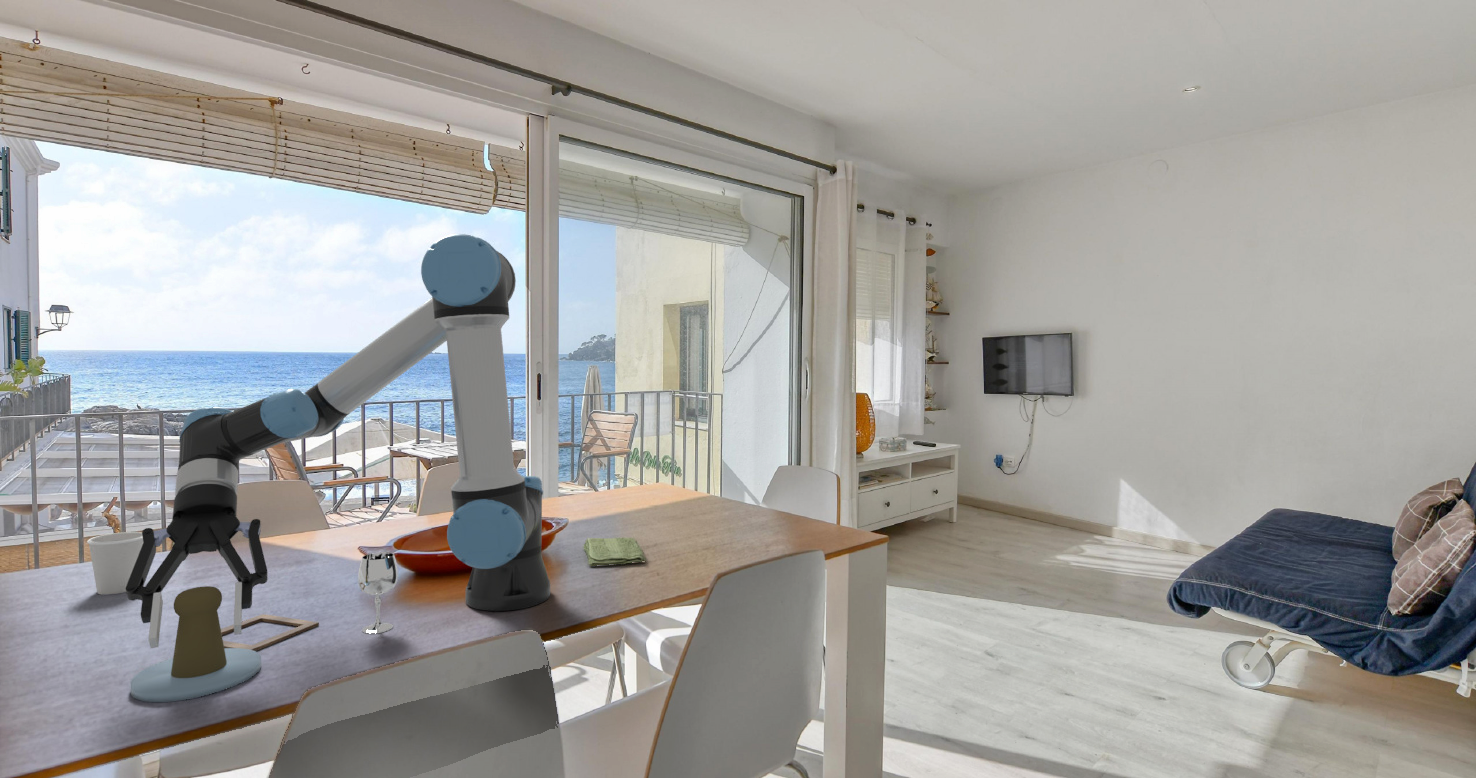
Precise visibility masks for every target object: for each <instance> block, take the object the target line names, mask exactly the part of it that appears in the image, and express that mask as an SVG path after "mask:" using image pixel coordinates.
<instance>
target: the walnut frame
mask: <svg viewBox="0 0 1476 778" xmlns="http://www.w3.org/2000/svg"><path fill="white" fill-rule="evenodd" d="M259 622H260V623H261V622H265V623H272V624H280V625H284V624H286V625H285V626H291V625H293V626H292V627H294V628H292V629H288V630H287V631H283V632H282V633H279V634H276V635H274V636H271V637H268V638H265V639H263V640H261V641H259V642H256V643H253V644H246V643H239V642H234V641H233V642H232V641H227V640H223V644H224V649H225V648H242V649H249V650H253V651H256V652H258V651H260V650H262V649H264V648H268V647H270V646H272V645H274V644H277V643H279V642H282V641H284V640H286V639H290V638H291V636H292V637H294V636H296V634H297V635H299V634H302V633H304V632H306V631H309V630H312V629H314V628H316V627H318V625H319V626H320V622H319V621H312V620H305V619H299V618H292V617H286V616H285V617H284V616H278V615H271V614H266V613H262V614H259V615H257V616H254V617H251V618H248V619H245V620H242V622H241V629H243V628H246V627H249V626H251V625H255V624H257V623H259ZM297 626H298V627H297ZM301 632H302V633H301ZM230 633H234V624H230V625H228V626H226V627H223V628H221V634H222V636H223V635H224V636H225V635H227V634H230Z"/></svg>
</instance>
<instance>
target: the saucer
mask: <svg viewBox="0 0 1476 778" xmlns="http://www.w3.org/2000/svg"><path fill="white" fill-rule="evenodd" d="M224 650H225V655H226V661H227V663H226V665H225V666H224V667H223V668H221V669H219V670H217V671H215V672H212V673H210V674H206V675H202V676H198V677H192V678H175V677H172V676H171V670H172V663H173V657H172V658H169V659H166V660H163V661H160V662H158V663H155V664H152V665H150V666H149V667H147V668H145V669H143V670H141V671H140V672H138V673H136V675H134V677H132V679H131V681H130V695H131V697H132V698H134V699H135V700H136V701H137V700H138V701H141V702H146V703H167V702H168V703H169V702H170V703H171V702H179V701H186V699H187V700H191V699H196V698H201V696H202V697H205V696H204V695H206V696H209V694H210V695H213V694H212V693H214V692H217V693H219V692H218V691H220V692H222V691H221V690H223V691H225V690H224V689H226V688H229V689H231V688H233V686H234V687H236V686H238V685H237V684H239V683H241V684H243V683H244V682H243V681H245V682H246V681H248V680H250V679H251V678H252V676H253V677H254V676H255V675H257V674H258V673H259V671H260V670H261V667H262V655H261V654H260V653H259V652H258V651H253V650H249V649H242V648H225V649H224ZM257 672H258V673H257ZM256 673H257V674H256ZM242 682H243V683H242ZM235 685H236V686H235ZM239 685H240V684H239ZM230 687H231V688H230ZM226 690H227V689H226ZM214 694H215V693H214Z"/></svg>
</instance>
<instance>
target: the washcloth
mask: <svg viewBox="0 0 1476 778" xmlns="http://www.w3.org/2000/svg"><path fill="white" fill-rule="evenodd" d="M582 548H583V551H584V552H585V554H586V556H587V560H588V561H587V563H588V566H590V567H592V566H596V567H598V566H597V565H608V566H610V565H609V564H615V565H614V566H617V565H616V564H621V565H626V563H632V562H642V561H646V559H647V558H646V557H645V555H644V552H643V549H642V548H641V546H640V544H639V543H638V541H637V540H636V539H635V538H634V537H614V538H602V537H596V538H595V537H588V538H587V539H586V540H585V543H584V544H583V547H582ZM632 564H633V563H632Z"/></svg>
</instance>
